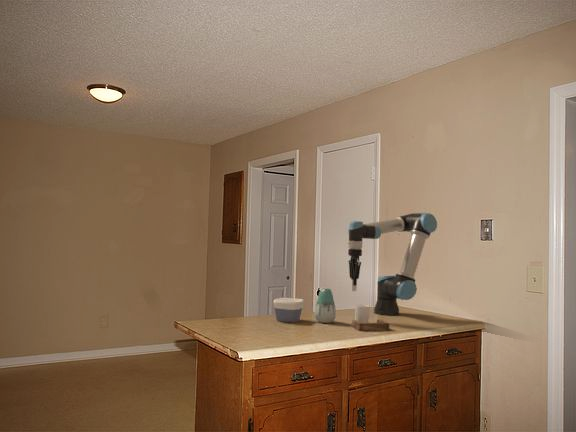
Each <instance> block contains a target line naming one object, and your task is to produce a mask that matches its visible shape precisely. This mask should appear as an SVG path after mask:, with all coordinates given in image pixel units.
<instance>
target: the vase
mask: <svg viewBox="0 0 576 432" xmlns="http://www.w3.org/2000/svg"><path fill="white" fill-rule="evenodd" d="M336 316H337V310H336V305H335V300H334V295H333V292H332V289H330V288H322V289H321V290H320V291H319V293H318V296H317V301H316V303H315V308H314V318H315V319H316V320H315V321H317V322H318V323H322V324H330V323H333V322H334V321H335V319H336Z"/></svg>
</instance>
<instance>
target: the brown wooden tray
mask: <svg viewBox="0 0 576 432" xmlns="http://www.w3.org/2000/svg"><path fill="white" fill-rule="evenodd" d="M351 327H352V328H353V329H356V330H358V331H359V332H361V331H362V332H364V331H365V332H368V331H371V332H373V331H375V330H377V331H390V323H389V322H388V321H385V320H382V319H377V320H376V322H368V323H361V322H359V321H357V320H356V319H352V322H351Z"/></svg>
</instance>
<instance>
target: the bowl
mask: <svg viewBox="0 0 576 432" xmlns="http://www.w3.org/2000/svg"><path fill="white" fill-rule="evenodd" d="M272 303H273V307H274V313H275V318H276V321H277V322H281V323H282V322H283V323H296V322H297V323H298V321H300V319H301V316H302V315H301V314H302V311H303V307H304V303H305V301H304V299H301V298H294V297H293V298H292V297H279V298H276V299H274V300H273V302H272Z"/></svg>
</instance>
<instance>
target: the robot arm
mask: <svg viewBox="0 0 576 432" xmlns="http://www.w3.org/2000/svg"><path fill="white" fill-rule="evenodd" d="M348 226H349V227H348V230H347V233H348V248H349V249H348V256H350V260H348V261H347V262H348V268H349V269H348V271H349V272H348V273H349V278H350V279H351V281H350V291H351V292H357V288H358V287H357V286H358V283H357V282H358V280H359V278H360V272H361V267H362V262H361V261H360V257H361V256H363V250H362V249H363V239H366V240H367V239H370V240H377V239H380V237H381V235H382V234H387V233H393V232H397V233H401V232H402V233H403V232H404V233H405V232H409V233H410V234H411V237H410V239H409V243H408V245H407V248H406V251H405V254H404V258H403V260H402V264H401V267H400V269H399V272H397V273H395V275H380V276H378V277H377V291H376V292H377V293H376V296H377V298H376V299H377V300H376V302H375V305H374V308H373V313H374V314H377V315H380V316H381V315H382V316H399V314H400V308H399V305H398V302H397V299H399V300H401V301H408V300H411V299H413V298H414V297H415V296H416V294H417V292H418V291H417V289H418V287H417V284H416V278H415V275H416V271H417V269H418V265H419V262H420V259H421V256H422V252H423V250H424V246H425V243H426V240H427V239H429V238H430V237H431V236H430V235H431V234H432V233H434V232H436V230H437V228H438V227H437V226H438V221H437V219H436V216H435V215H434V214H432V213H429V212H421V213H420V212H417V213H416V212H414V213H413V212H412V213H408V214H404V215H400V216H396V217H395V218H393V219H388V220H380V221H375V222H371V223H370V222H369V223H368V222H367V223H364V222H363V221H358V220H357V221H356V220H355V221H354V220H351V221H350V222H349V225H348Z"/></svg>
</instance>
